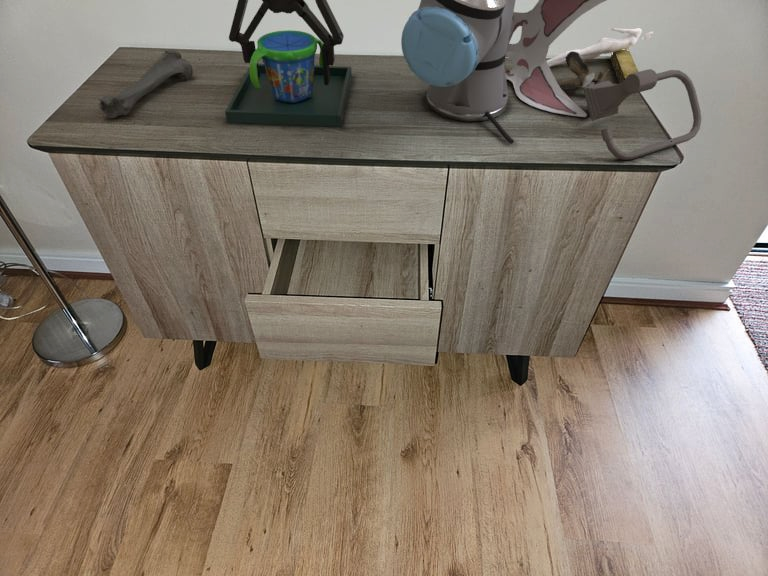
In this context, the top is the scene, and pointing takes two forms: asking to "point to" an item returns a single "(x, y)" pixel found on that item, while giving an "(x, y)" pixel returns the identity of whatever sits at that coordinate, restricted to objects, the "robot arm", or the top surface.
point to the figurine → (604, 46)
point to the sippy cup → (287, 63)
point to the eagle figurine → (579, 73)
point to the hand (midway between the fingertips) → (291, 81)
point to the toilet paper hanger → (610, 96)
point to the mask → (543, 53)
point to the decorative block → (623, 64)
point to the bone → (146, 83)
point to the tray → (312, 111)
